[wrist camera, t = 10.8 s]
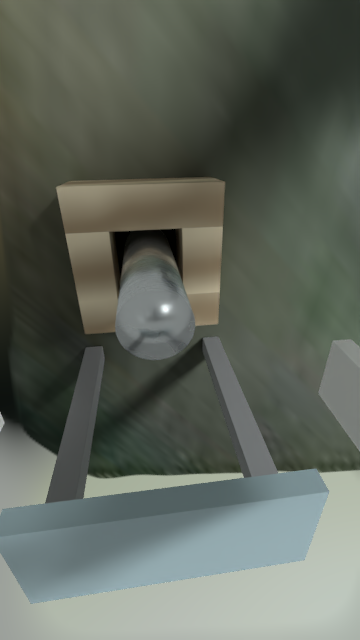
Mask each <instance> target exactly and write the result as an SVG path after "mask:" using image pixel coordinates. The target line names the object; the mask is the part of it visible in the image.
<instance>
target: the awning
mask: <svg viewBox="0 0 360 640" xmlns="http://www.w3.org/2000/svg"><path fill="white" fill-rule="evenodd" d="M202 351H203V354H204V357H205V360H206V363H207V366H208V369H209V372H210V375H211V378H212V381H213V384H214V387H215V391H216V394H217V397H218V400H219V403H220V406H221V409H222V412H223V415H224V418H225V421H226V424H227V427H228V430H229V433H230V436H231V439H232V442H233V445H234V448H235V451H236V455H237V458H238V461H239V464H240V467H241V470H242V473H243V476H244V478H239V479H232V480H224V481H217V482H209V483H201V484H193V485H186V486H178V487H170V488H162V489H154V490H147V491H139V492H131V493H123V494H116V495H108V496H101V497H92V498H85V499H83V497H84V490H85V484H86V477H87V471H88V465H89V458H90V452H91V445H92V439H93V432H94V426H95V419H96V413H97V406H98V400H99V393H100V387H101V380H102V374H103V367H104V361H105V358H104V352H103V346H96V347H86V348H85V352H84V356H83V360H82V364H81V368H80V372H79V375H78V379H77V383H76V387H75V391H74V395H73V398H72V402H71V406H70V410H69V414H68V418H67V421H66V425H65V429H64V433H63V437H62V441H61V445H60V448H59V452H58V456H57V460H56V464H55V468H54V472H53V475H52V479H51V483H50V487H49V491H48V495H47V498H46V502H45V504H38V505H30V506H24V507H15V508H7V509H3V510H2V512H1V515H0V553H1V554H2V556H3V558H4V559H5V561H6V563H7V564H8V566H9V568H10V569H11V571H12V573H13V574H14V576H15V578H16V579H17V581H18V583H19V584H20V586H21V588H22V589H23V591H24V593H25V594H26V596H27V598H28V599H29V601H30V603H31V604H33V603H39V602H46V601H51V600H58V599H64V598H71V597H77V596H83V595H89V594H96V593H102V592H108V591H115V590H121V589H127V588H133V587H139V586H146V585H152V584H158V583H165V582H171V581H177V580H183V579H189V578H196V577H202V576H209V575H214V574H221V573H227V572H234V571H240V570H245V569H252V568H258V567H265V566H271V565H277V564H284V563H290V562H296V561H302V560H305V557H306V554H307V552H308V549H309V546H310V543H311V541H312V538H313V535H314V532H315V530H316V527H317V524H318V521H319V518H320V516H321V513H322V510H323V507H324V505H325V502H326V499H327V496H328V494H329V490H328V489H327V487H326V485H325V483H324V481H323V480H322V478H321V476H320V474H319V473H318V471H317V469H309V470H301V471H294V472H286V473H278V472H277V469H276V467H275V465H274V462H273V460H272V458H271V456H270V453H269V451H268V449H267V446H266V444H265V442H264V440H263V437H262V435H261V433H260V430H259V428H258V426H257V424H256V421H255V419H254V417H253V415H252V412H251V410H250V408H249V405H248V403H247V401H246V399H245V396H244V394H243V392H242V389H241V387H240V385H239V383H238V380H237V378H236V376H235V373H234V371H233V369H232V367H231V364H230V362H229V360H228V358H227V355H226V353H225V351H224V348H223V346H222V344H221V342H220V339H219V337H206V338H203V350H202Z"/></svg>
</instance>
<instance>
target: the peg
mask: <svg viewBox="0 0 360 640" xmlns="http://www.w3.org/2000/svg"><path fill="white" fill-rule="evenodd" d="M115 331H116V335H117V338H118V340H119V342H120V344H121V345H122V346H123V347H124V348H125V349H126V350H127V351H128V352H129V353H131V354H133V355H134V356H137V357H139V358H143V359H148V360H160V359H165V358H169V357H171V356H174V355H176V354H177V353H179V352H180V351H182V350H183V349H184V348H185V347H186V346H187V345H188V344H189V342H190V341H191V339H192V337H193V334H194V331H195V318H194V314H193V311H192V308H191V305H190V302H189V300H188V297H187V294H186V291H185V288H184V285H183V282H182V279H181V276H180V274H179V271H178V268H177V265H176V262H175V259H174V256H173V253H172V251H171V248H170V245H169V242H168V239H167V237H166V236H165V234H164V233H163V232H162V231H161V230H159V229H158V230H136V231H132V232H131V233H130V234H129V235H128V237H127V239H126V243H125V249H124V257H123V265H122V273H121V281H120V289H119V297H118V305H117V313H116V321H115Z"/></svg>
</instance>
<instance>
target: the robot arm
mask: <svg viewBox="0 0 360 640" xmlns="http://www.w3.org/2000/svg"><path fill="white" fill-rule="evenodd" d="M318 394H319V395H320V397H321V398H322V399H323V401H324V402H325V404H326V405H327V406H328V408H329V409H330V411H331V412H332V413H333V415H334V416H335V418H336V419H337V420H338V422H339V423H340V425H341V426H342V427H343V429H344V430H345V431H346V433H347V434H348V436H349V437H350V438H351V440H352V441H353V443H354V444H355V445H356V447H357V448H358V450H359V451H360V347H359V346H358V345H357V344H356V343H355V342H354V341H353V340H351V339H349V340H336V341H333V342H332V346H331V349H330V353H329V356H328V360H327V364H326V367H325V371H324V375H323V378H322V382H321V385H320V389H319V393H318ZM4 423H5V422H4V420H3V418H2V415H1V413H0V431H1V429H2V427H3V425H4Z"/></svg>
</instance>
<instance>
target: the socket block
mask: <svg viewBox="0 0 360 640" xmlns="http://www.w3.org/2000/svg"><path fill="white" fill-rule="evenodd" d="M56 190H57V195H58V200H59V205H60V210H61V215H62V220H63V225H64V230H65V235H66V240H67V245H68V250H69V255H70V261H71V266H72V271H73V276H74V281H75V286H76V291H77V296H78V301H79V306H80V311H81V316H82V321H83V326H84V331H85V334H96V333H109V332H116V331H115V321H116V313H117V305H118V297H119V289H120V281H121V278H120V271H119V263H118V254H117V246H116V238H115V231H136V230H158V229H176V265H177V268H178V271H179V274H180V276H181V279H182V282H183V285H184V288H185V291H186V294H187V297H188V300H189V302H190V305H191V308H192V311H193V314H194V318H195V326H199V325H212V324H218V316H219V295H220V275H221V255H222V234H223V214H224V194H225V182H224V181H221V180H218V179H216V178H213V177H188V178H154V179H119V180H85V181H69V182H66V183H64V184H62V185H60V186H57V187H56Z"/></svg>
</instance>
